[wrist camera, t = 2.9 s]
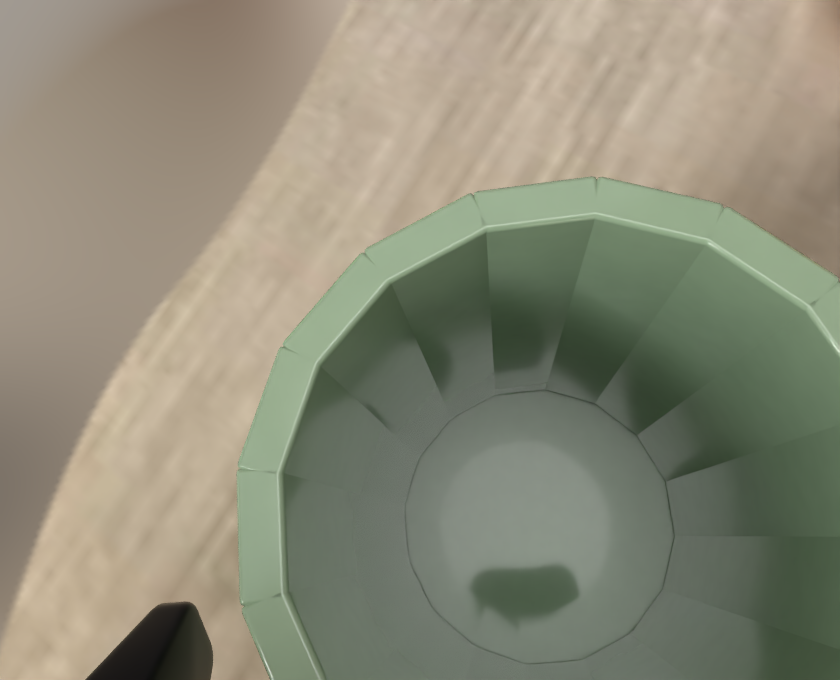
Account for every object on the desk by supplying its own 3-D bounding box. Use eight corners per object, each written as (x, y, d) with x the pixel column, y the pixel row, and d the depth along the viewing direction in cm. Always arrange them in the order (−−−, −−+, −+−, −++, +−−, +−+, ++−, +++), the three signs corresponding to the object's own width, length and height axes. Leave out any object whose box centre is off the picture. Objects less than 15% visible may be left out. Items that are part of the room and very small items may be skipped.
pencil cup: (648, 726, 16) (901, 1060, 6) (351, 621, 17) (132, 747, 7) (715, 422, 17) (1012, 267, 7) (437, 345, 19) (360, 119, 8)
